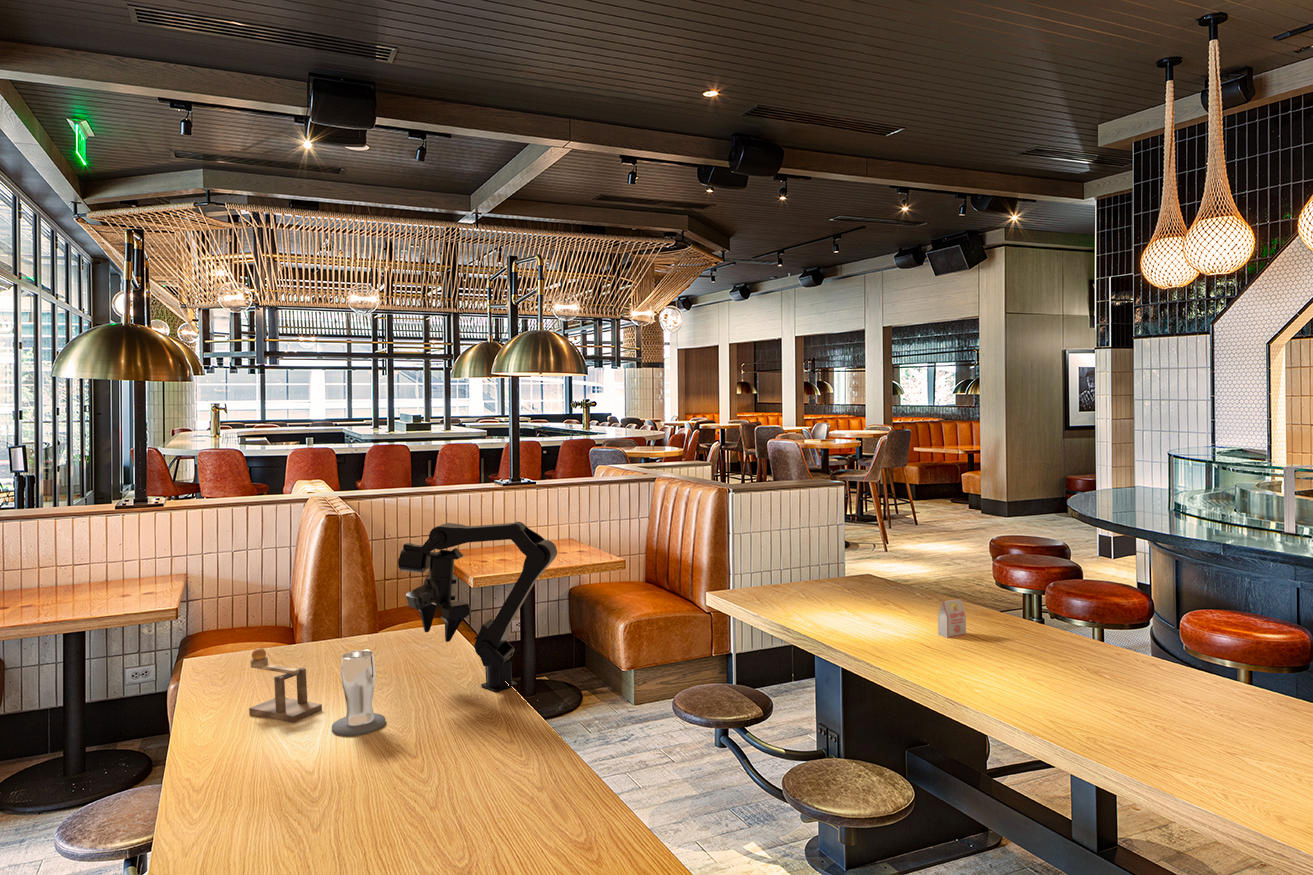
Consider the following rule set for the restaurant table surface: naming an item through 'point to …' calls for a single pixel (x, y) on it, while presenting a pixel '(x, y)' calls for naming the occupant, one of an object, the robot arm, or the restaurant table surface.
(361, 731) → the mat
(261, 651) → the toy catapult
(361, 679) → the beer glass
